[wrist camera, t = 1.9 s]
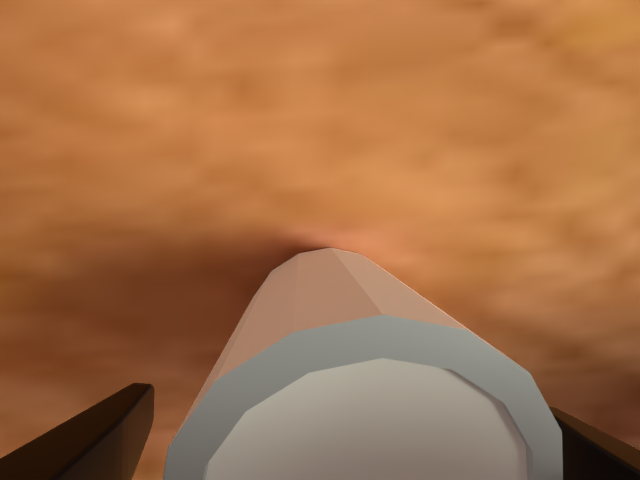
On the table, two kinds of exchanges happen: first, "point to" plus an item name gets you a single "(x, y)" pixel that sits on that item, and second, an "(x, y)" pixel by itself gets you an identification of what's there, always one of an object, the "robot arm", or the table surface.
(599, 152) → the table surface
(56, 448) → the robot arm
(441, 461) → the white cup
